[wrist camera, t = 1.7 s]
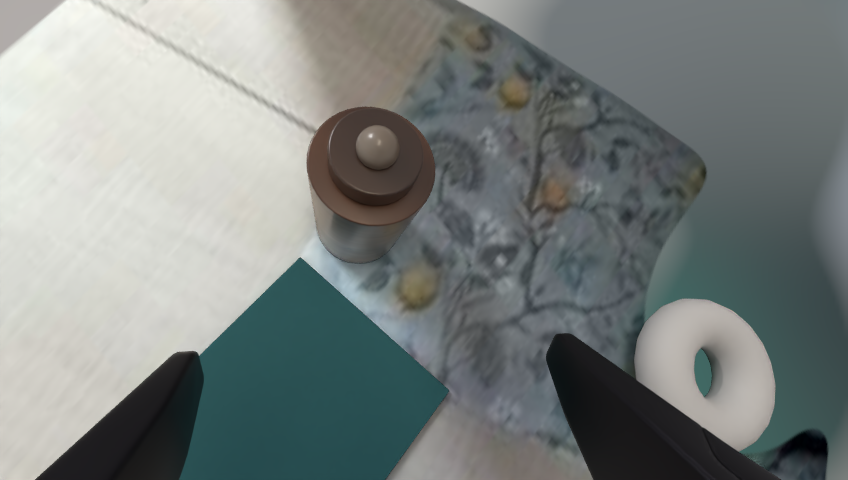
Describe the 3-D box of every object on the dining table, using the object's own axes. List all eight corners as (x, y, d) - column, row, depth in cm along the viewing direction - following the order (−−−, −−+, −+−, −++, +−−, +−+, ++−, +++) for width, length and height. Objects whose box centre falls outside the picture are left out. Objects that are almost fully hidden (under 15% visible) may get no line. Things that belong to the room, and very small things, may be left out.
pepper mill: (361, 280, 23) (386, 240, 12) (297, 223, 22) (266, 132, 12) (415, 222, 24) (479, 141, 14) (356, 169, 24) (375, 45, 13)
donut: (745, 339, 29) (645, 275, 28) (798, 341, 25) (687, 268, 24) (718, 470, 26) (604, 404, 24) (775, 491, 22) (647, 417, 21)
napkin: (272, 632, 18) (272, 636, 18) (83, 470, 17) (80, 472, 17) (448, 389, 22) (449, 390, 22) (300, 257, 22) (300, 257, 22)
